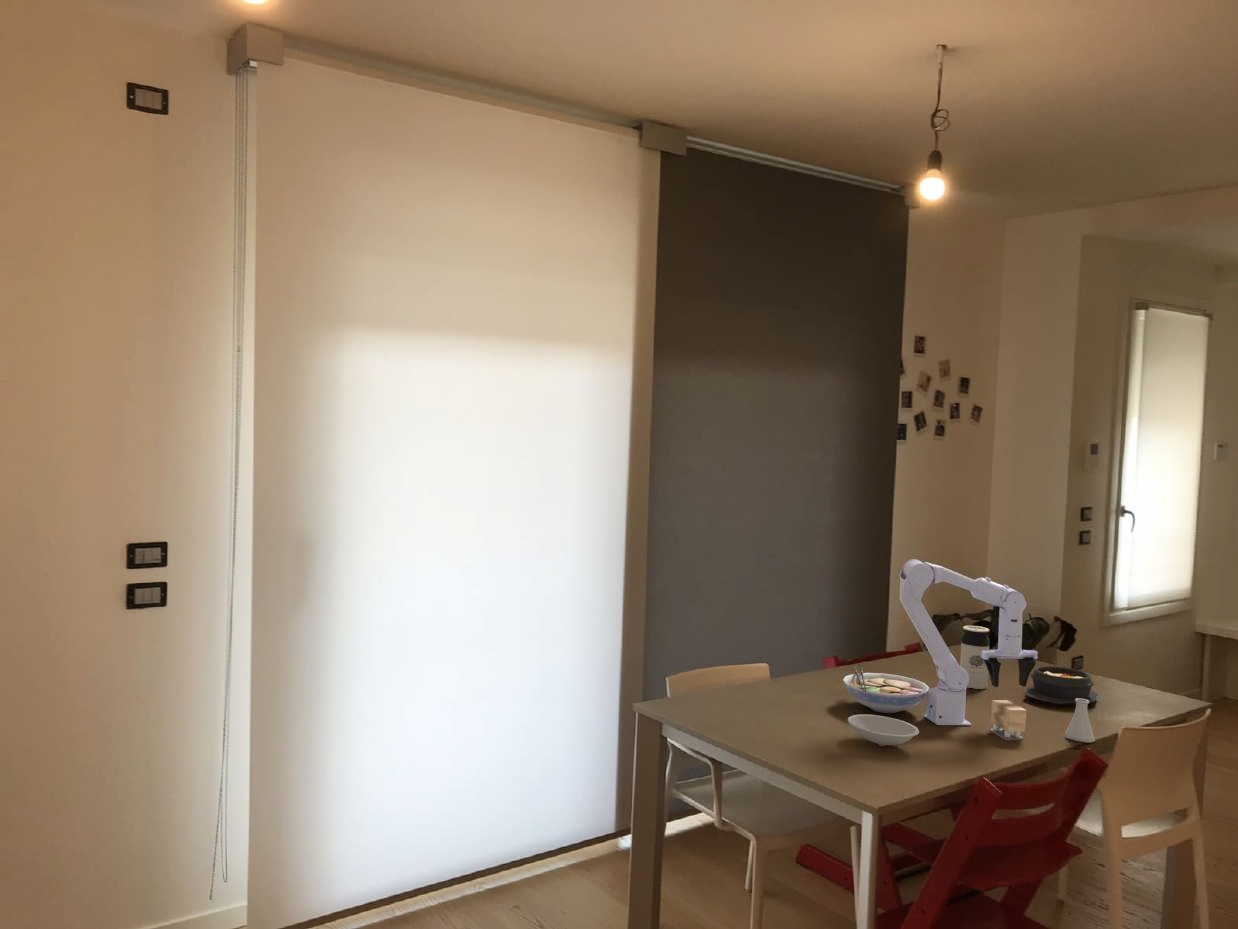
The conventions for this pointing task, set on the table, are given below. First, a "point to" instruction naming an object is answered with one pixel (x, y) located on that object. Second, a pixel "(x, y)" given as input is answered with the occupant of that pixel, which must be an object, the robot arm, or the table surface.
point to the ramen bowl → (885, 691)
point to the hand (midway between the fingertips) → (1008, 686)
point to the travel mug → (975, 655)
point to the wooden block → (1008, 715)
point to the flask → (1080, 724)
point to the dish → (883, 729)
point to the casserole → (1060, 685)
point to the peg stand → (1006, 733)
